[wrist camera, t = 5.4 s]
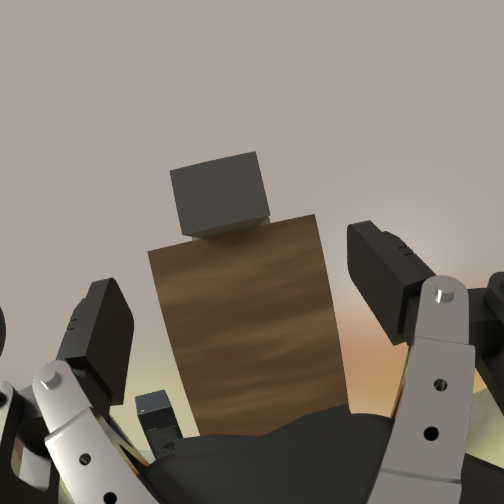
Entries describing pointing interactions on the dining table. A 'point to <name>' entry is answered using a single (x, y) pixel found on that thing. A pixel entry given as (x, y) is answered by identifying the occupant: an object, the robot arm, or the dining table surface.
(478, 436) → the dining table surface
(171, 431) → the box
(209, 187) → the dark grey matte block
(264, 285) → the stand
